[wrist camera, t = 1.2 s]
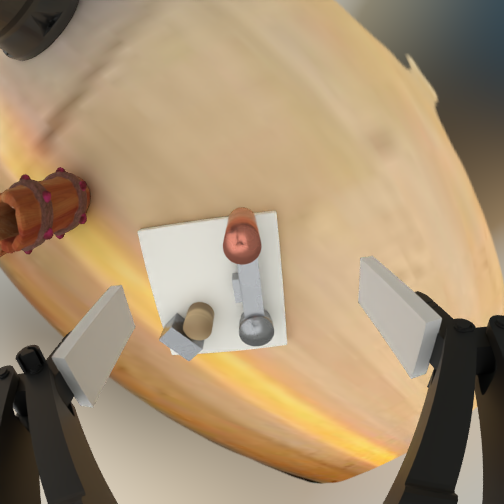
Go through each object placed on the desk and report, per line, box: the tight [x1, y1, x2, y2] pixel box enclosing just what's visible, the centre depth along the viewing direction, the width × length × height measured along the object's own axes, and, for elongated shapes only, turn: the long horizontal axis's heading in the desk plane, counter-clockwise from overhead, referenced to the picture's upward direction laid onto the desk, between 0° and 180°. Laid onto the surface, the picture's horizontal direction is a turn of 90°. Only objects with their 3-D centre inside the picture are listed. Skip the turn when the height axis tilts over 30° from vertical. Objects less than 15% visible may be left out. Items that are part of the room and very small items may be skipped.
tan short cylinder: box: [183, 302, 214, 340], centre depth 35 cm, size 4×4×4 cm
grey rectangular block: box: [159, 313, 204, 361], centre depth 36 cm, size 5×3×4 cm, turn 47°
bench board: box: [138, 211, 287, 355], centre depth 36 cm, size 19×17×2 cm
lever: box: [223, 208, 274, 346], centre depth 29 cm, size 18×4×10 cm, turn 7°
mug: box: [0, 167, 90, 257], centre depth 25 cm, size 15×8×15 cm, turn 114°
